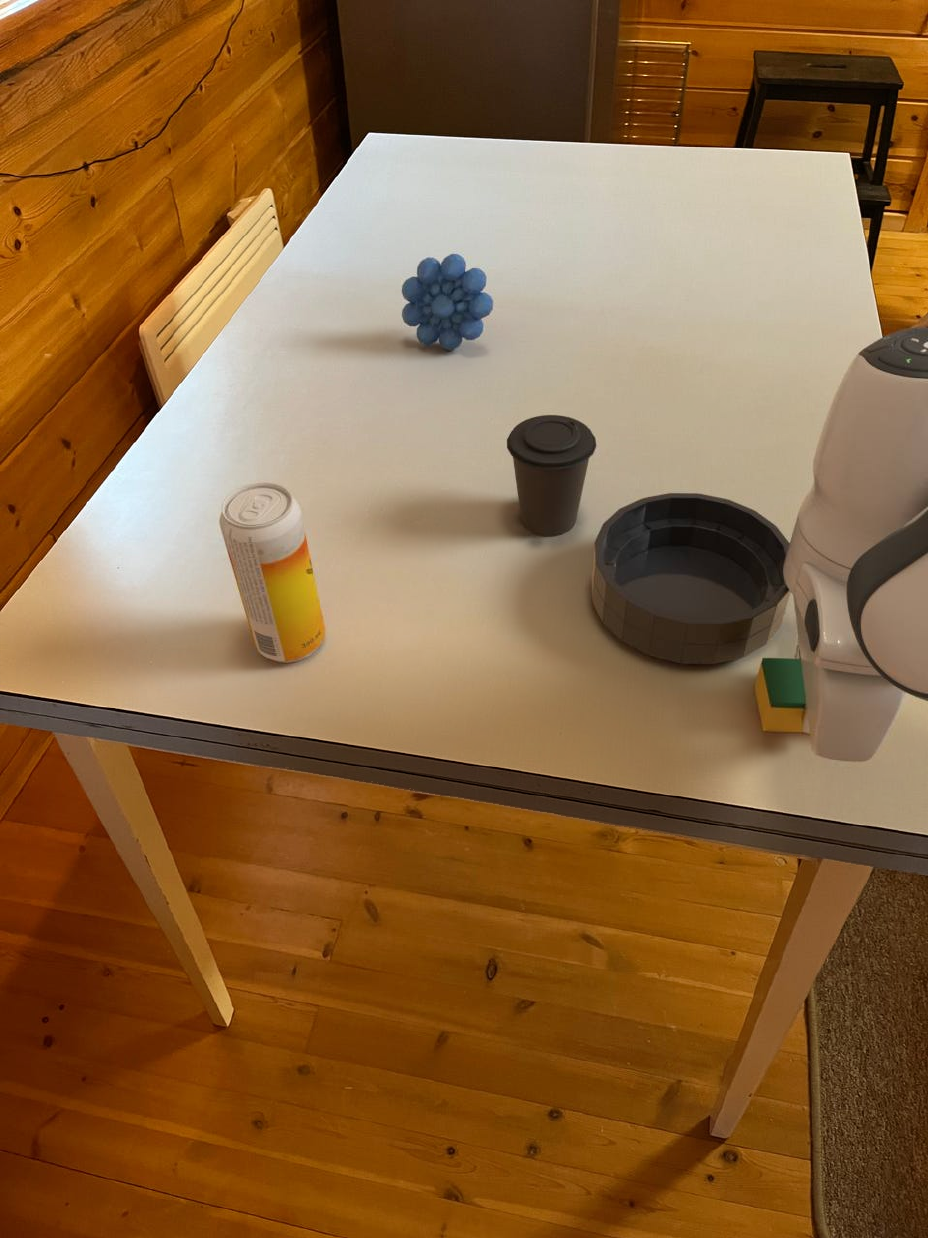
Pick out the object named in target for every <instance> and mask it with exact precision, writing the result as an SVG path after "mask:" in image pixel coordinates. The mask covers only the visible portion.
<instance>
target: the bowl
mask: <svg viewBox="0 0 928 1238" xmlns="http://www.w3.org/2000/svg"><path fill="white" fill-rule="evenodd" d="M789 544H790V541H789V540H788V539H787V538H786V537H785V535H784V534H783V532H782V531H781V529H779V528H778V525H776V524H775V523H773V522H772V521H770V520H769V519H767V518H766V516H764V515H762V514H760V513H759V512H758V511H756V510H755V509H752V508H750V507H748V506H745V505H743V504H741V503H739V502H736V501H733V500H731V499H728V498H724V497H720V496H719V497H718V496H714V495H710V494H705V493H697V492H668V493H663V494H657V495H652V496H647V497H643V498H640V499H637V500H635V501H633V502H631V503H629V504H626V505H625V506H623V507H620V508H619V509H617V510H616V511H615V512H614V513H613V514H612V515H611V516H610V517H609V518H607V520H605V521H604V522H603V523H602V525H601V527H600V529H599V531H598V534H597V537H596V539H595V541H594V546H593V557H592V571H591V602H592V604H593V607H594V609H595V611H596V613H597V615H598V616H599V618H600V621H601V622H602V624H604V626H605V627H607V628H608V630H609V631H611V633H612V634H614V635H615V636H616V637H617V638H618V639H619V640H620V641H621V642H623V643H625V644H627V645H628V646H630V647H632V648H634V649H636V650H638V651H640V652H642V653H643V654H646V655H647V656H650V657H654V658H657V659H661V660H665V661H668V662H669V661H670V662H674V663H678V664H682V665H683V664H689V665H691V664H692V665H716V664H720V663H726V662H729V661H733V660H739V659H743V658H745V657H746V656H749V655H750V654H752V653H754V652H755V651H757V650H759V649H761V648H762V647H764V646H766V645H767V644H768V643H769V641H770V640H771V639H772V638H773V637H774V636H775V634H776V633H777V632H778V630H779V629H780V628H781V626H782V623H783V619H784V616H785V613H786V609H787V605H788V603H789V600H790V596H791V594H792V593H791V592H790V590H789V588H788V587H787V585H786V582H785V579H784V575H783V567H784V562H785V558H786V555H787V551H788V548H789Z"/></svg>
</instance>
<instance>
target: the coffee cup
mask: <svg viewBox="0 0 928 1238" xmlns="http://www.w3.org/2000/svg"><path fill="white" fill-rule="evenodd" d="M506 449H507V451H508V452H509V454H510V456H511V457H512V461H513V467H514V476H515V483H516V491H517V492H516V493H517V498H518V505H519V514H520V522H521V524H522V526H523V527H524V528H525V529H526V530H527V531H528V532H530V533H532V534H535V535H537V536H540V537H541V536H542V537H556V536H557V537H558V536H561V535H564V534H566V533H568V532H570V531H571V530H572V529H573V528H574V527H575V525H576V522H577V520H578V519H577V518H578V513H579V509H580V504H581V499H582V495H583V491H584V486H585V480H586V476H587V471H588V465H589V460H590V458H591V457H592V456H593V455H594V453H595V450H596V449H597V440H596V437H595V436H594V433H593V431H592V430H591V429H590V428H589V426H587V425H586V424H585V423H583V422H582V421H580V420H578V419H575V418H573V417H570V416H565V415H559V414H544V415H543V414H541V415H537V416H533V417H530V418H527V419H525V420H523V421H521V422H519V423H518V424H517V425H515V427H513V429H512V430H511V431H510V433H509V435H508V437H507V439H506Z"/></svg>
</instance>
